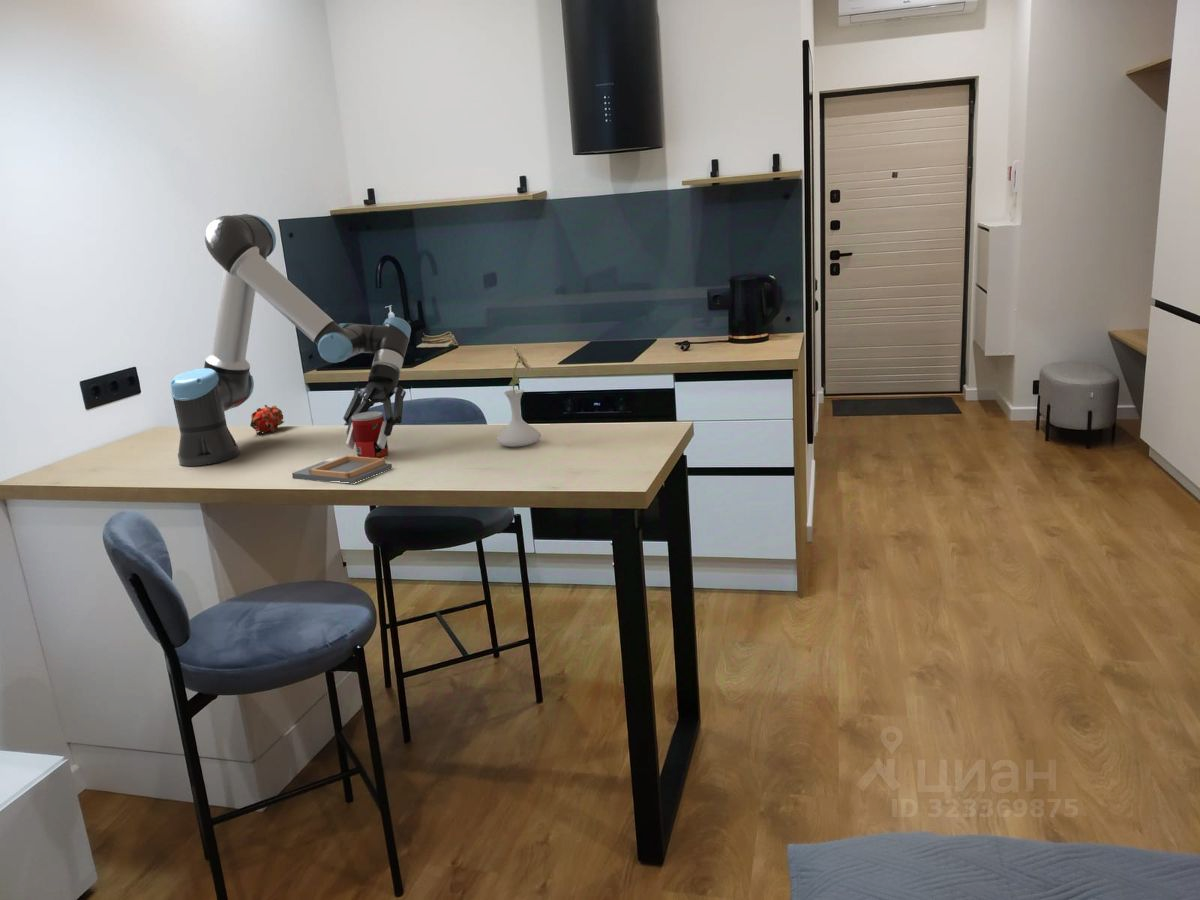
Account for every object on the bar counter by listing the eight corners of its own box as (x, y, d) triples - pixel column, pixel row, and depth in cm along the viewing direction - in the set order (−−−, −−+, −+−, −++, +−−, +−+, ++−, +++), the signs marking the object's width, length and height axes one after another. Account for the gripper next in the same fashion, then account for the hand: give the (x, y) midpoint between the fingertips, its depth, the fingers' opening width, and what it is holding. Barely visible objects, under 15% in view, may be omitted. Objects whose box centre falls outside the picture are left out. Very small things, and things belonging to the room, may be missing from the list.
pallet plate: (292, 477, 224) (291, 468, 223) (332, 462, 235) (330, 453, 234) (353, 484, 214) (352, 474, 213) (392, 468, 225) (390, 459, 224)
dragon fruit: (288, 431, 282) (259, 447, 273) (267, 415, 284) (237, 430, 274) (294, 410, 277) (264, 426, 268) (273, 394, 279) (242, 409, 269)
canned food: (381, 460, 233) (375, 417, 230) (352, 461, 235) (345, 418, 232) (394, 452, 240) (388, 410, 237) (365, 452, 242) (359, 411, 239)
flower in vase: (531, 450, 230) (521, 350, 224) (489, 450, 234) (478, 352, 228) (550, 436, 242) (541, 341, 236) (510, 436, 246) (500, 343, 239)
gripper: (427, 377, 245) (408, 453, 234) (356, 379, 250) (335, 453, 239) (416, 361, 238) (396, 438, 227) (343, 364, 244) (320, 439, 233)
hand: (364, 446), depth 233 cm, fingers closed on canned food, 8 cm apart
